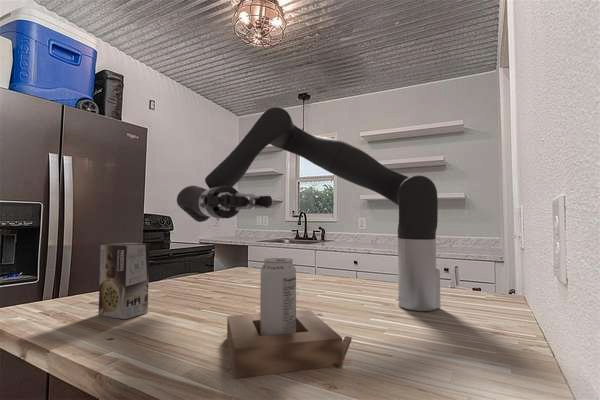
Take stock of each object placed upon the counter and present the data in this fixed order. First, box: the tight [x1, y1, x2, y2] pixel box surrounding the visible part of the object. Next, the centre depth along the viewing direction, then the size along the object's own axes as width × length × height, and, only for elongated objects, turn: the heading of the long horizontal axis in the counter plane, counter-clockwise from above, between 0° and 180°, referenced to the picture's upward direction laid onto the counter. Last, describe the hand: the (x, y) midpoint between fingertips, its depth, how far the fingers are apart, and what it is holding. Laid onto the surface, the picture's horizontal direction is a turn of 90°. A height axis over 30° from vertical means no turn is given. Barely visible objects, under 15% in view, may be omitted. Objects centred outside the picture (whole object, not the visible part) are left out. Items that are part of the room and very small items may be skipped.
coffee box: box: [98, 242, 151, 320], centre depth 76 cm, size 9×6×16 cm
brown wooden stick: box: [330, 335, 352, 369], centre depth 55 cm, size 13×1×1 cm, turn 163°
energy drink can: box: [259, 257, 297, 336], centre depth 55 cm, size 6×6×15 cm
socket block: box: [226, 309, 343, 379], centre depth 55 cm, size 16×16×4 cm
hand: (251, 200), depth 65 cm, fingers open, 8 cm apart
